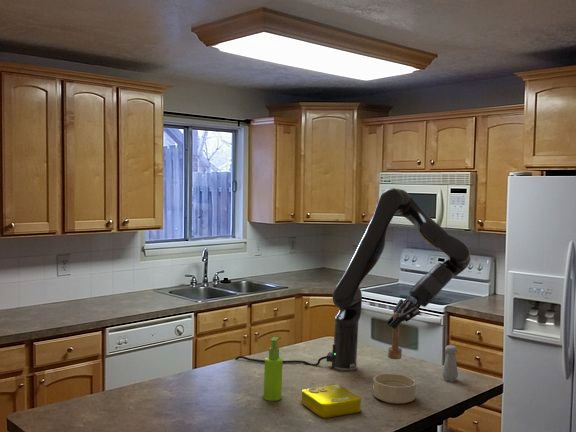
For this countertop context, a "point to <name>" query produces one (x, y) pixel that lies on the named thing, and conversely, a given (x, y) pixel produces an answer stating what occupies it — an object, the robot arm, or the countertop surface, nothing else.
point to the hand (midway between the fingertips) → (390, 325)
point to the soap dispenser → (273, 373)
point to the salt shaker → (450, 364)
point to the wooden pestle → (395, 343)
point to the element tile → (331, 401)
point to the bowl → (394, 388)
